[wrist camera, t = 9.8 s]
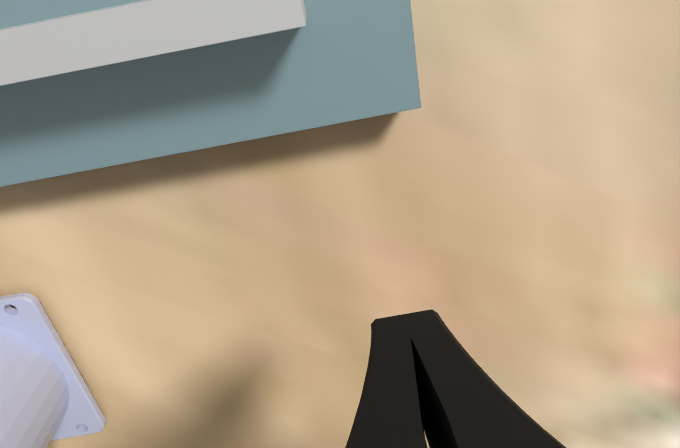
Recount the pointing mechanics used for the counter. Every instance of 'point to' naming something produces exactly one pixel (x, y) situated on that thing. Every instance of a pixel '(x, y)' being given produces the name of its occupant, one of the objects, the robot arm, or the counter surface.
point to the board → (189, 75)
